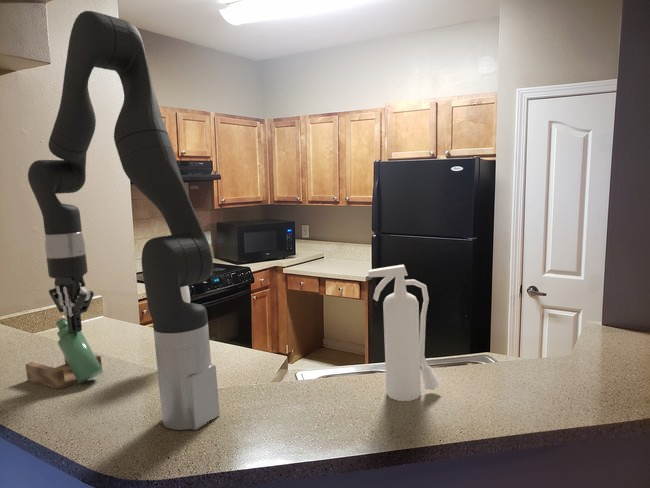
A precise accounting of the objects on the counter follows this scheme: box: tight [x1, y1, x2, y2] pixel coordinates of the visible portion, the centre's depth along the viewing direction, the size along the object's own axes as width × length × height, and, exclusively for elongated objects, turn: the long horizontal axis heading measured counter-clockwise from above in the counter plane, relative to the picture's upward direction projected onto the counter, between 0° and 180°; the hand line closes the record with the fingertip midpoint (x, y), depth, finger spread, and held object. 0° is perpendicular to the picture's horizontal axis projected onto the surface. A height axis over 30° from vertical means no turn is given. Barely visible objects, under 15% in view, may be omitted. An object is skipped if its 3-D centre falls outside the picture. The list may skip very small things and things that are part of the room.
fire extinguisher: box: [368, 264, 442, 402], centre depth 93 cm, size 7×12×25 cm, turn 85°
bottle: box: [53, 315, 103, 384], centre depth 109 cm, size 5×5×15 cm
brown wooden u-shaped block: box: [25, 354, 103, 390], centre depth 112 cm, size 12×10×4 cm
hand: (75, 331), depth 108 cm, fingers closed
